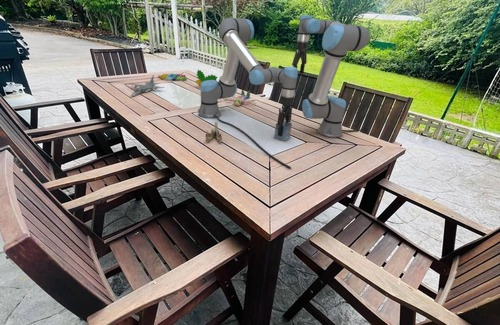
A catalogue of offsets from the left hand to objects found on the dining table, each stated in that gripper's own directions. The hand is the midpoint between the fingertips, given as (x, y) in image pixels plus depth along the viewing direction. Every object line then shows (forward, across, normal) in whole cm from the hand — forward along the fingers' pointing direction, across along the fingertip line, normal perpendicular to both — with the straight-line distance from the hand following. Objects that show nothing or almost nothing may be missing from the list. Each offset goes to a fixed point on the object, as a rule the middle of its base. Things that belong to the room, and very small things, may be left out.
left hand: (282, 133), depth 158 cm
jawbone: (+3, +28, -30) cm, 41 cm away
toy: (+3, -47, -61) cm, 77 cm away
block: (+3, 0, 0) cm, 3 cm away
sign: (+3, -68, -164) cm, 178 cm away
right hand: (-27, -45, -13) cm, 54 cm away
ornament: (+3, -62, -113) cm, 129 cm away
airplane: (+3, -13, -140) cm, 141 cm away
